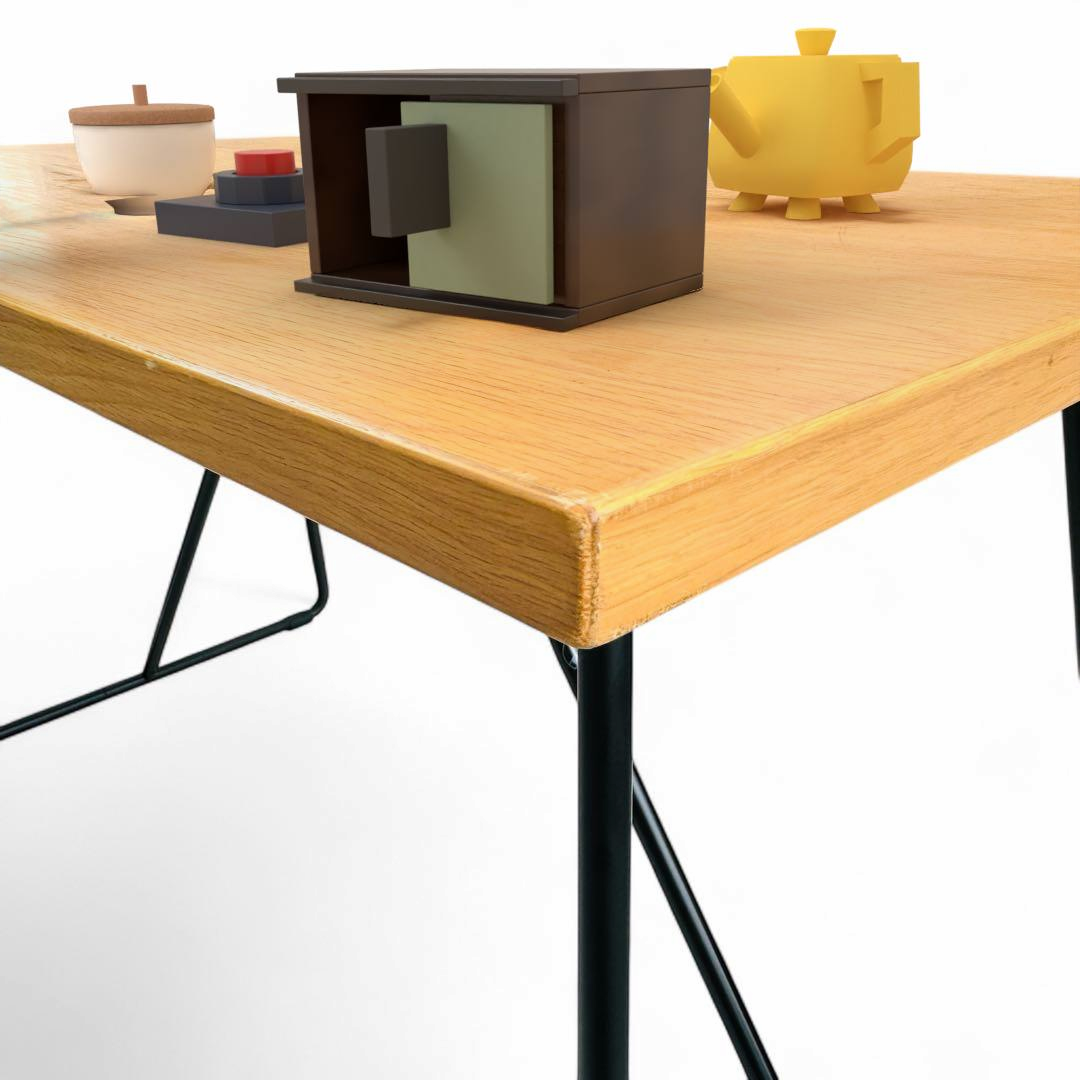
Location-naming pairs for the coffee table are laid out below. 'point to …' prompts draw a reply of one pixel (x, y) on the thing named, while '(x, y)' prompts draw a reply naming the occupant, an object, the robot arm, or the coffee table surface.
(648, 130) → the cupboard
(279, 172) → the button
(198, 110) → the trinket box
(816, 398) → the coffee table surface
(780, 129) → the teapot
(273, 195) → the control block
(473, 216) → the sliding door
